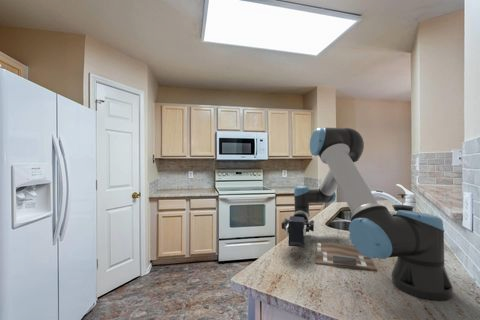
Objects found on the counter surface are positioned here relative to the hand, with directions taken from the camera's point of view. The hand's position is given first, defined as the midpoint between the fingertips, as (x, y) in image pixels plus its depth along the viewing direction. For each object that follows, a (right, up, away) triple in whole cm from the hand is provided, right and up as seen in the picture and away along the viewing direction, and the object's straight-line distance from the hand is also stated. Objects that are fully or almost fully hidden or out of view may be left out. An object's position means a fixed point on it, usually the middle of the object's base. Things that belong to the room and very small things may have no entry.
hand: (295, 231), depth 96 cm
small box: (+2, -7, +5) cm, 8 cm away
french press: (+60, -11, +21) cm, 64 cm away
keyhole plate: (+20, -11, +3) cm, 23 cm away
